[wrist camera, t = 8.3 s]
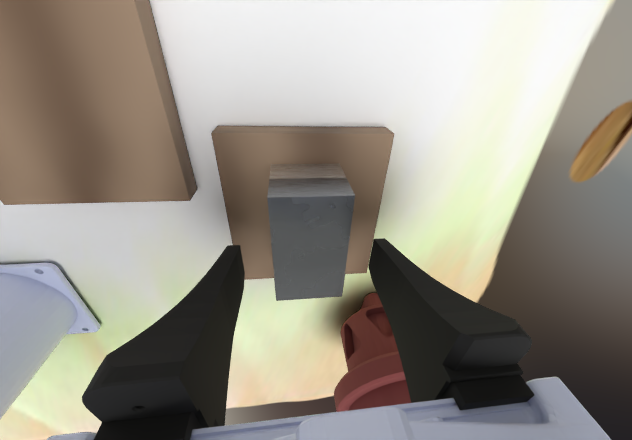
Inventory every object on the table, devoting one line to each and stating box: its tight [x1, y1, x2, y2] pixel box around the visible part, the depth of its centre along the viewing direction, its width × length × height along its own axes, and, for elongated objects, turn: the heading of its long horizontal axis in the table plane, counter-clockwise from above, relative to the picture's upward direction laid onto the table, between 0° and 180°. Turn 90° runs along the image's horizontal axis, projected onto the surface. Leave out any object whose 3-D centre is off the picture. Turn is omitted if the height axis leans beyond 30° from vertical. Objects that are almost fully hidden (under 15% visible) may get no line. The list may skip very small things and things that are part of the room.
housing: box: [267, 164, 355, 301], centre depth 15 cm, size 4×7×4 cm, turn 178°
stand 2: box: [211, 126, 394, 280], centre depth 17 cm, size 10×11×2 cm
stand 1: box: [0, 0, 197, 205], centre depth 12 cm, size 10×11×2 cm
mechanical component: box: [334, 293, 411, 412], centre depth 21 cm, size 12×10×10 cm
